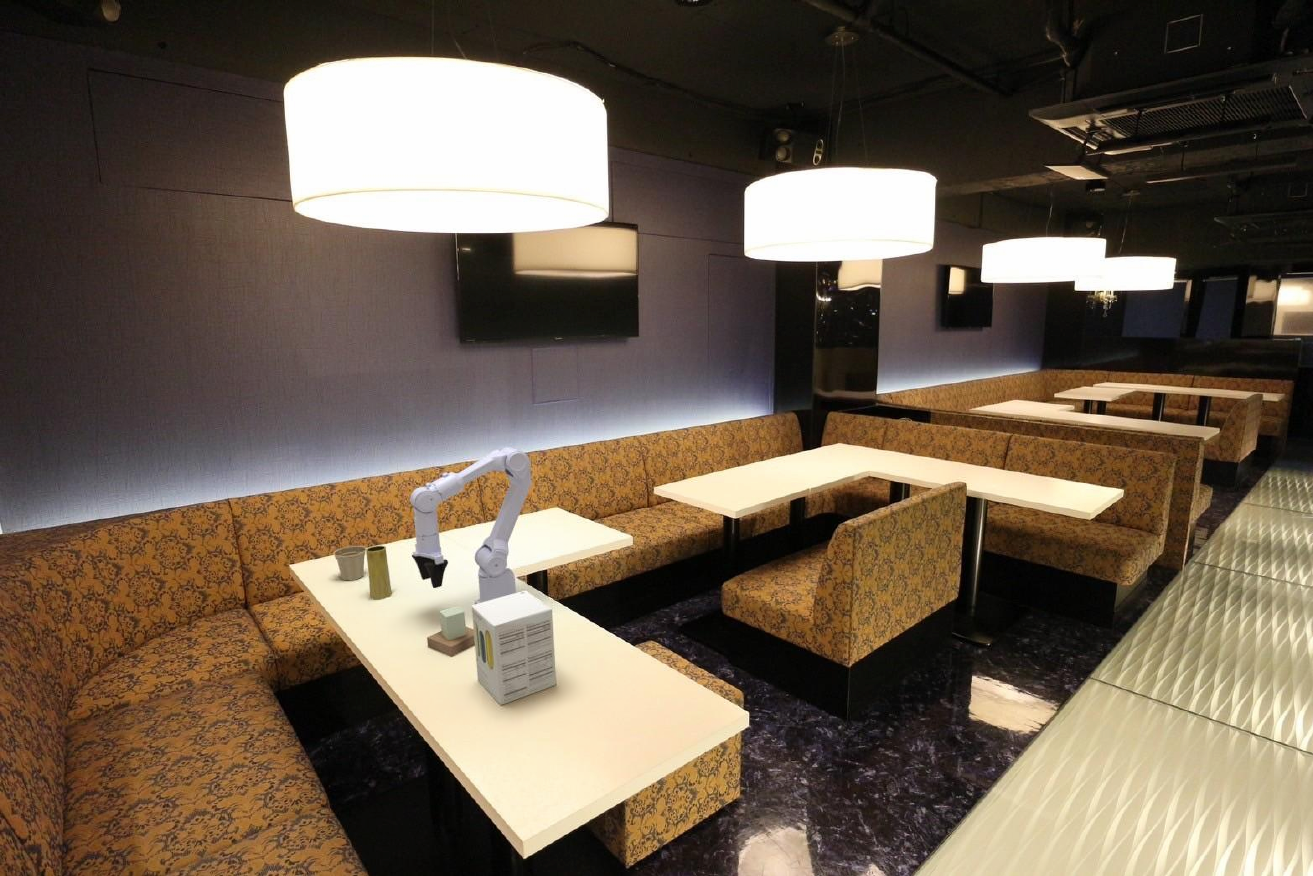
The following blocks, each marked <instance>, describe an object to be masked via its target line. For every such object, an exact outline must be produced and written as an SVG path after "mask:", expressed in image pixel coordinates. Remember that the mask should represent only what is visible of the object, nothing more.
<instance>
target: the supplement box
mask: <svg viewBox="0 0 1313 876" xmlns="http://www.w3.org/2000/svg"><path fill="white" fill-rule="evenodd" d="M470 607H471V613H472V614H471V615H472V626H473V628H472V629H474V640H475V645H474V651H475V661H476V675H477V681H479V682H480V684H481V685H482V686H483V687H484V689H486V690H487V692H488V693H489V694H490V695H491V696H492V697H493V698H494V700H495V701H496V702H497V703H498V705H500V706H501V705H505V704H508V703H511V702H513V701H515V700H518V699H519V700H520V699H521V698H524V697H527V696H530V695H532V694H535V693H537V692H541V691H543V690H545V689H549V688H551V687H554V686H556V685H557V675H556V674H557V672H556V660H555V659H556V657H555V655H556V654H555V638H554V621H553V618H554V617H553V608H551V607H550V606H548V605H547V604H546V603H545V602H543V601H542V600H540V599H539V598H538V597H536V596H535V595H533V594H532V593H531V592H529V591H528V590H523V591H518V592H516V593H514V594H510V595H507V596H503V597H500V598H496V599H493V600H489V601H485V602H482V603H478V604H476V603H475V604H472V605H471V606H470Z"/></svg>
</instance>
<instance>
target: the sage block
mask: <svg viewBox="0 0 1313 876" xmlns="http://www.w3.org/2000/svg"><path fill="white" fill-rule="evenodd" d="M465 616H466V615H465V611H464V610H463V609H461V607H459V606H458V605H456V606H452V607H449V608H447V609H442V610H440V611H439V621H440V628H441V630H440V631H442V635H443V636H444V637H445V638H446V639H447V640H448V641H449V640H453V639H456V638H459V637H462V636H465V635H467V634H466V627H467V626H466V625H467V624H466V617H465Z"/></svg>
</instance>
